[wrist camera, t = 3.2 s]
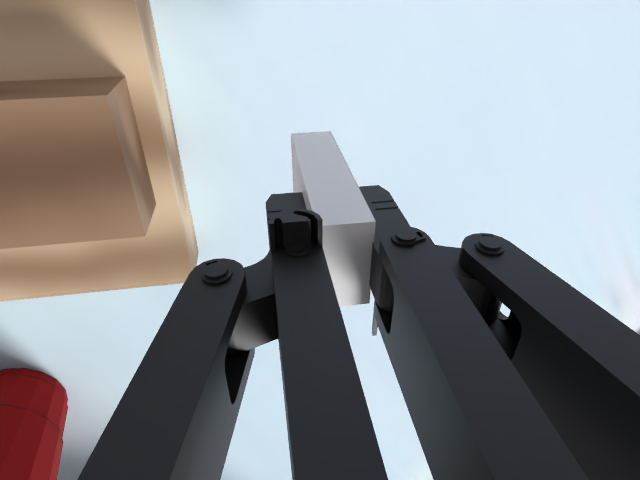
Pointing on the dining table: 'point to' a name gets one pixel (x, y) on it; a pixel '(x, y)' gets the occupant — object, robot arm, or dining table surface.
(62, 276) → the board
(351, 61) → the dining table surface
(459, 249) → the robot arm
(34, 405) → the plastic cup
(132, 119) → the brown square block
